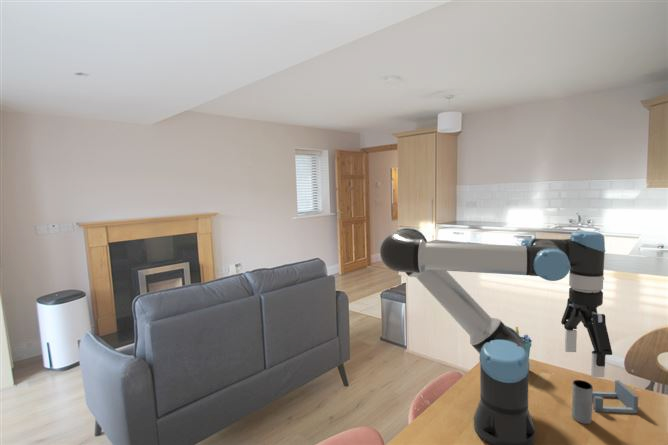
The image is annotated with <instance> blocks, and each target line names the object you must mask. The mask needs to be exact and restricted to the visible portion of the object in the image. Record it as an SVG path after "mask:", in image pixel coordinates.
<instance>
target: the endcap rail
mask: <svg viewBox="0 0 668 445" xmlns="http://www.w3.org/2000/svg"><path fill="white" fill-rule="evenodd" d="M629 388H630V387H629ZM629 388H628V386H627V385H625V384H624V383H623V382H622V381H620V380H618V379H617V380H615V379H614V391H613V392H612V391H611V392H610V391H593V392H592V397H593V401H592V410H594V412H607V413H608V412H609V413H623V414H624V413H626V414H629V413H630V414H638V408H639V407H638V406H639V396H638V395H637V394H636V393H634V392H633V390H631V389H629ZM604 398H617V400H619V401H620V402H621V403H622V404H623V405H624V406H605V405H604ZM625 406H626V407H625Z"/></svg>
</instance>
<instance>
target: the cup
mask: <svg viewBox="0 0 668 445" xmlns="http://www.w3.org/2000/svg"><path fill="white" fill-rule="evenodd" d="M515 331H516V332H517V333H518V334H519V335H520V332H519V327H518V326H515ZM520 337H521V339H522V340H523V343H524V346H525V351H526V353H527V355H528V360H530V353H531V352H530V351H531V348H532V342H533V340H532V339H531V338H530V336H529V335H528V334H527V333H526V334H524V335H523V336H520Z"/></svg>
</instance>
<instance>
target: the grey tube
mask: <svg viewBox="0 0 668 445" xmlns="http://www.w3.org/2000/svg"><path fill="white" fill-rule="evenodd" d="M592 392H594V391H593V385H592V383H589V382H588V381H586V380H580V379H575V380H573V381H572V400H571V401H572V402H571V417H572V418H573V420H574V421H576V422H578V423H581V424H584V425H585V424H587V425H589V424H591V423H592V419H593V418H592V417H593V416H592V414H593V396H592Z"/></svg>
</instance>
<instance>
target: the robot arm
mask: <svg viewBox="0 0 668 445" xmlns="http://www.w3.org/2000/svg"><path fill="white" fill-rule="evenodd" d="M605 240H606V239H605V236H604V234H602V233H600V232H597V231H596V232H595V231H586V230H585V231H584V230H583V231H573V232H571V233H570V237H569V238H566V239H565V238H564V239H563V238H562V239H559V238H556V239H554V238H537V237H534V238H523V239H522V240H521V241H520V242H521V244H520V245H511V244H510V245H508V244H506V245H505V244H504V245H503V244H477V243H475V244H473V243H469V244H467V243H443V242H442V243H439V242H428V240H427V238H426V236H425V235H424V234H423V233H422V232H421V231H420V230H418V229H415V228H410V227H409V228H407V227H405V228H401V229H398V230H397V231H396V232H393V233H392V234H390V235H388V236H387V237H386V238H385V239H384V240H383V241H382V243H381V245H380V249H379V253H380V258H381V260H382V263H383V264H384V265H385V266H386V267H387V268H388V269H390V270H392V271H395V272H398V273H405V274H406V275H407V276H408V277H410V278H416V279H417V280H418V281H419V282H420V283H421V284H422V286H423V287H424V288H425V289H426V290H427V291H428V292H429V293H430V294H431V295H432V296H433V298H435V300H436V301H437V302H438V303H439V304H440V305H441V307H443V309H444V310H445V311H446V312H447V313H448V314H449V315H450V316H451V317H452V319H454V320H455V322H457V323H458V324H459V326H460V327H461V328H462V329H463V330H464V331H465V332H466V333H467V334H468V336H469V344H470V345H471V346H472V347H473V349H475V350H476V351H477V353H478V354H479V362H480V364H479V365H480V367H479V368H480V376H479V377H480V387H479V389H480V390H479V391H480V397H479V398H480V400H479V402H478V403H477V407H476V409H475V412H474V415H473V428H474V430H475V432H476V434H477V436H478V437H480V438H481V440H482V441H484V442H486V443H488V444H489V445H534V444H535V443H536V428H535V425H534V423H533V422H534V421H533V419H532V416H531V414H530V413H531V412H530V410H529V371H530V366H531V365H530V361H529V360H530V359H529V360H528V355H527V353H526V351H525V346H524V343H523V340H522V339H521V337H522V336H521V335H520V333H519V334H518V333H517V332H516V329H513V328H512V327H510V326H507V325H506V324H504V322H502V320H501V319H499V318H495V317H491V316H490V315H489V314H488V313H487V312H486V311H485V310H484V309H483V307H482V306H481V305H480V304H479V303H478V302H477V301H476V300H475V299H474V298H473V297H472V295H470V294H469V293H468V292H467V291H466V289H464V288H463V286H462V285H461V284H460V283H459V282H458V281H457V280H456V279H455V278H454V277H453V276H452V275H451V274H450V273H449V272H460V273H461V272H463V273H464V272H465V273H477V274H478V273H483V274H498V275H516V276H518V275H519V276H530V277H540V278H541V279H543V280H545V281H548V282H549V281H550V282H557V281H561V280H562V279H564V278H566V276H567V275H568V274H569V278H568V280H569V281H568V282H569V283H568V286H569V289H568V292H569V293H568V298H567V303H566V307H565V310H564V312H563V315H562V318H561V325H563V327H564V329H565V332H564V333H565V335H564V336H565V337H564V338H565V339H564V351H565V352H566V353H577V338H578V337H577V336H578V335H577V334H578V331H577V329H578V325H579V324H580V323H582V324H583V327H584V328H586V331H587V333H588V336H589V339H590V342H591V345H592V347H593V350H592V351H591V370H590V371H591V374H590V376H591V377H594V378H605V369H606V367H605V366H606V356H612V355H613V350H612V345H611V341H610V336H609V333H608V327H607V324H606V314H605V313H599V312H598V310H597V309H598V307H600V306H602V305H603V303H604V302H603V301H604V300H603V299H604V292H603V291H602V290H603V289H604V281H605V277H604V274H605V272H604V270H605V269H604V268H605V256H606V255H605V253H606V244H605Z"/></svg>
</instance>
